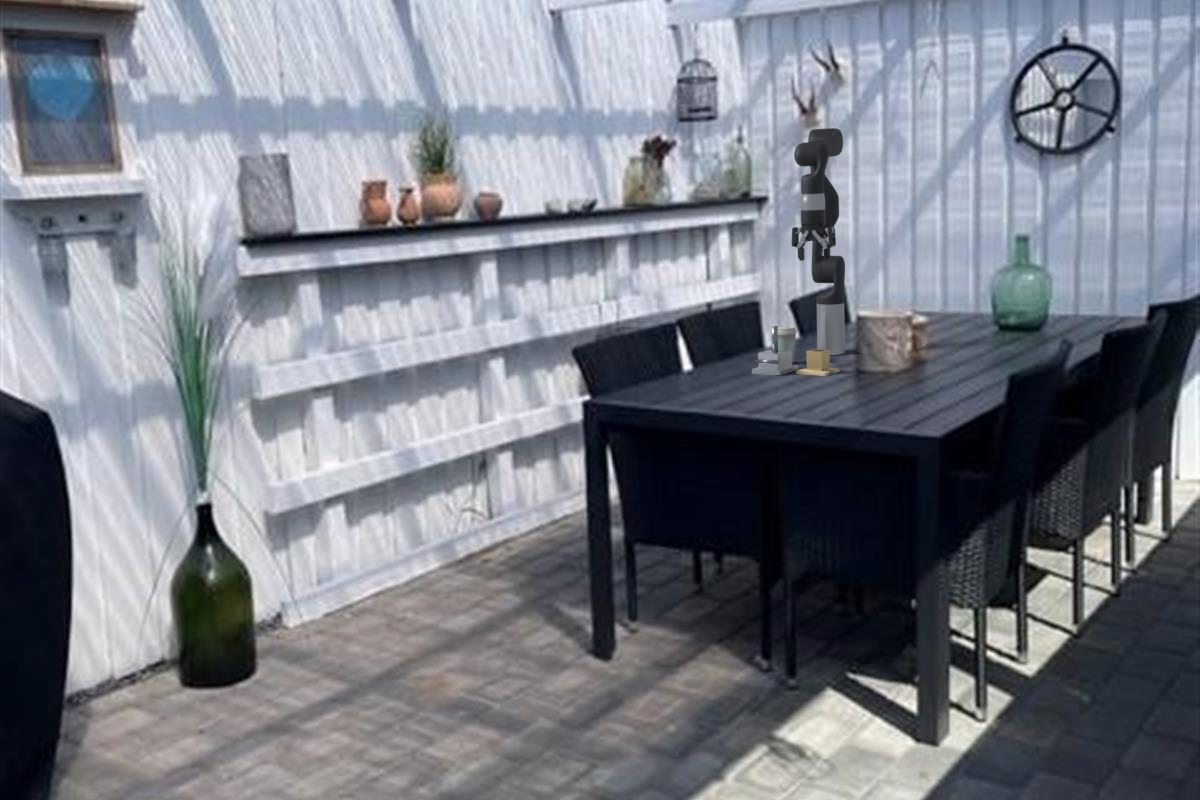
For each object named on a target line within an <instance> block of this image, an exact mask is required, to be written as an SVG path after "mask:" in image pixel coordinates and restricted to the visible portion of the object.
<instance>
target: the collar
mask: <svg viewBox="0 0 1200 800" xmlns="http://www.w3.org/2000/svg"><path fill="white" fill-rule="evenodd" d="M830 356H831V355H830V354H829V350H826V349H817V348H814V349H813V348H812V349H810V350H806V368H807V370H811V371H824V370H827V369H830V364H831V362H830V359H831V358H830Z"/></svg>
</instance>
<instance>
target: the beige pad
mask: <svg viewBox="0 0 1200 800" xmlns="http://www.w3.org/2000/svg"><path fill="white" fill-rule="evenodd" d="M838 372H841V367H830V369H827V370H824V371H811V370H807V367H805V368H800V369H799V370H797V371H795V373H796V375H805V376H817V377H818V376H819V377H820V376H821V377H826V376H829V375H833V374H836V373H838Z"/></svg>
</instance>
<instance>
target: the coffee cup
mask: <svg viewBox="0 0 1200 800" xmlns="http://www.w3.org/2000/svg"><path fill="white" fill-rule="evenodd" d="M777 326H778V349H780V350H792V363H793V364H794V358H795V357H794V356H795V349H796V347H795V345H796V338H797V337H796V336H797V334H798V333H797V329H796V326H793V325H777ZM770 335H771V337H772V334H771V332H770Z"/></svg>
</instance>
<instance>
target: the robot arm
mask: <svg viewBox="0 0 1200 800" xmlns="http://www.w3.org/2000/svg"><path fill="white" fill-rule="evenodd" d="M843 146H844V137H843V133H842V131H841V130H840V129H838V128H837V127H834V128H833V127H831V128H828V127H827V128H814V129H811V130H809V133H808V141H807V142H806V141H805V142H801V143H799V144H797V146H796V147H795V150H794V153H793V154H794V155H793V158H794V161H795V163H796V164H797V165H798V166H799V167H809V168H810V173H808V174H804V175H802V176H801V179H800V194H801V195H800V207H799V208H800V225H801V227H799V226H795V227H792V228H791V246H792V247H795V248H796V249H797V258H798V260H799V261H804V260H805V248H804V247H805V245H806V244H807V243H808V242H812V245H811V277H812V280H813V282H814V283H815V284H833V287H832V288H831V289H829V290H828V291H825V292H822V293H820V294H818V295H817V296H816V345H817V347H816V349H826V350H829V354H830V356H835V355H844V354H845V353H846V325H845V283H846V282H845V280H846V278H845V277H846V276H845V275H846V262H845V259H844V256H842V255H831V248H833V247H836V245H837V242H836V241H837V240H836V238H837V237H836V228H835V225H836V223H837V222H838V220H839V217H840V197H839V194H838V192H837V190H836V189H835V186H833V184H832V182H831V181H830V180H829V178H828V177H827V175H826V169H827V165H828V162H829V157H830V158H831V157H838V156H839V155H840V154H841V153H842V151H843V148H844V147H843ZM800 234H801V237H800Z"/></svg>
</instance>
